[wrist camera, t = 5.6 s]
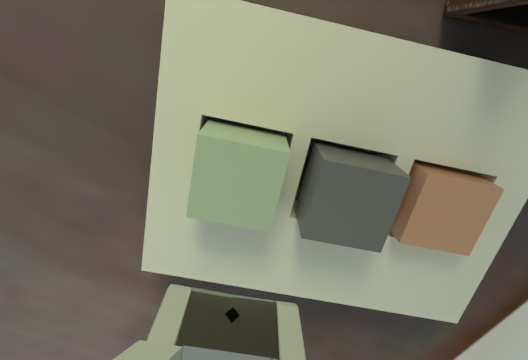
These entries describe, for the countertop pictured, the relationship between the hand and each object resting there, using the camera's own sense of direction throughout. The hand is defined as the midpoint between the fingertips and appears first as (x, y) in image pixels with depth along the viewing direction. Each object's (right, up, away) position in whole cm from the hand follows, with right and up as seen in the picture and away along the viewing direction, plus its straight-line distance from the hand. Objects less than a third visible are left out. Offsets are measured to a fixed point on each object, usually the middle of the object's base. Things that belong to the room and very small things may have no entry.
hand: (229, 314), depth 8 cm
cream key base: (+5, +4, +13) cm, 14 cm away
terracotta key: (+10, +2, +12) cm, 16 cm away
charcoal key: (+5, +3, +10) cm, 11 cm away
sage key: (0, +4, +9) cm, 10 cm away
